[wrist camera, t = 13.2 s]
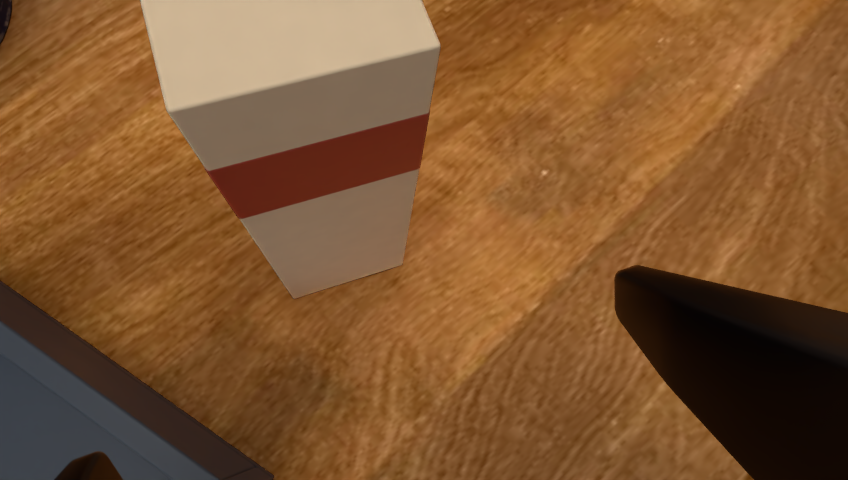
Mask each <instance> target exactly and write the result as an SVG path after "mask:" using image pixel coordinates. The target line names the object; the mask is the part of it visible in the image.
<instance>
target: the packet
mask: <svg viewBox="0 0 848 480" xmlns="http://www.w3.org/2000/svg"><path fill="white" fill-rule="evenodd" d="M140 2H141V7H142V11H143V15H144V19H145V23H146V27H147V31H148V36H149V40H150V44H151V48H152V52H153V56H154V61H155V65H156V69H157V73H158V77H159V81H160V85H161V90H162V94H163V98H164V102H165V106H166V110H167V112H168V114H169V115H170V116H171V118H172V119H173V121H174V122H175V124H176V125H177V127H178V128H179V130H180V131H181V133H182V134H183V136H184V137H185V139H186V140H187V142H188V143H189V145H190V146H191V148H192V149H193V151H194V152H195V154H196V155H197V157H198V158H199V160H200V161H201V162H202V164H203V165H204V167H205V170H206V171H207V173H208V174H209V176H210V177H211V179H212V180H213V182H214V183H215V185H216V186H217V188H218V189H219V191H220V192H221V194H222V195H223V197H224V198H225V200H226V201H227V202H228V204H229V205H230V207H231V208H232V210H233V211H234V213H235V214H236V216H237V217H238V218H239V219H240V220H241V222H242V223H243V225H244V226H245V228H246V229H247V231H248V232H249V234H250V235H251V237H252V238H253V240H254V241H255V243H256V244H257V246H258V247H259V249H260V250H261V252H262V253H263V254H264V256H265V257H266V259H267V260H268V262H269V263H270V265H271V266H272V268H273V269H274V271H275V272H276V274H277V275H278V277H279V278H280V280H281V281H282V283H283V284H284V286H285V287H286V289H287V290H288V292H289V293H290V295H291V296H292V298H293V299H295V298H299V297H302V296H305V295H308V294H311V293H314V292H318V291H321V290H324V289H327V288H330V287H333V286H337V285H340V284H343V283H346V282H349V281H353V280H356V279H359V278H362V277H365V276H368V275H372V274H375V273H378V272H381V271H384V270H387V269H391V268H394V267H397V266H400V265H402V264H403V259H404V253H405V247H406V241H407V236H408V230H409V224H410V219H411V213H412V207H413V201H414V196H415V190H416V184H417V179H418V173H419V168H420V165H421V159H422V154H423V148H424V142H425V137H426V131H427V125H428V120H429V114H430V104H431V98H432V93H433V87H434V81H435V76H436V70H437V64H438V58H439V53H440V46H441V45H440V42H439V40H438V38H437V35H436V33H435V31H434V28H433V26H432V23H431V21H430V19H429V16H428V14H427V12H426V9H425V7H424V4H423V2H422V0H140Z"/></svg>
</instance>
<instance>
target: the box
mask: <svg viewBox="0 0 848 480" xmlns="http://www.w3.org/2000/svg"><path fill="white" fill-rule="evenodd" d="M96 451H101V452H103V453H105V454H106V455H107V456H108V457H109V459H110V460H111V462H112V463H113V465H114V466H115V468H116V469H117V471H118V472H119V474H120V475H121V477H122V478H123V480H273V478H274V476H273V475H272V474H271V473H270V472H268V471H267V470H265V469H264V468H263V467H261V466H260V465H258V464H257V463H256V462H254V461H253V460H251V459H250V458H248V457H247V456H246V455H244V454H243V453H241V452H240V451H239V450H237V449H236V448H234V447H233V446H232V445H230V444H229V443H227V442H226V441H225V440H223V439H222V438H220V437H219V436H218V435H216V434H215V433H213V432H212V431H211V430H209V429H208V428H206V427H205V426H204V425H202V424H201V423H199V422H198V421H197V420H195V419H194V418H192V417H191V416H190V415H188V414H187V413H185V412H184V411H183V410H181V409H180V408H178V407H177V406H176V405H174V404H173V403H171V402H170V401H169V400H167V399H166V398H164V397H163V396H161V395H160V394H159V393H157V392H156V391H154V390H153V389H152V388H150V387H149V386H147V385H146V384H145V383H143V382H142V381H140V380H139V379H138V378H136V377H135V376H133V375H132V374H131V373H129V372H128V371H126V370H125V369H124V368H122V367H121V366H119V365H118V364H117V363H115V362H114V361H112V360H111V359H110V358H108V357H107V356H105V355H104V354H103V353H101V352H100V351H98V350H97V349H96V348H94V347H93V346H91V345H90V344H89V343H87V342H86V341H84V340H83V339H81V338H80V337H79V336H77V335H76V334H74V333H73V332H72V331H70V330H69V329H67V328H66V327H65V326H63V325H62V324H60V323H59V322H58V321H56V320H55V319H53V318H52V317H51V316H49V315H48V314H46V313H45V312H44V311H42V310H41V309H39V308H38V307H37V306H35V305H34V304H32V303H31V302H30V301H28V300H27V299H25V298H24V297H23V296H21V295H20V294H18V293H17V292H16V291H14V290H13V289H11V288H10V287H9V286H7V285H6V284H4V283H3V282H2V281H0V480H54V479H55V478H56V477H57V476H58V475H59V473H60V472H61V471H62V470H63V469H64V468H65V467H66V466H67V465H68V464H69V463H70V462H71V461H72V460H74V459H76V458H79V457H82V456H84V455H87V454H90V453H93V452H96Z"/></svg>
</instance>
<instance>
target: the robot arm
mask: <svg viewBox="0 0 848 480" xmlns="http://www.w3.org/2000/svg"><path fill="white" fill-rule="evenodd" d="M615 311H616V314H617V317H618V319H619V320H620V322H621V323H622V325H623V326H624V327H625V329H626V330H627V331H628V333H629V334H630V335H631V337H632V338H633V340H634V341H635V342H636V344H637V345H638V346H639V348H640V349H641V350H642V352H643V353H644V354H645V356H646V357H647V358H648V360H649V361H650V363H651V364H652V365H653V367H654V368H655V369H656V371H657V372H658V373H659V375H660V376H661V377H662V378H663V380H664V381H665V382H666V384H667V385H668V386H669V387H670V388H671V389H672V390H673V392H674V393H675V394H676V395H677V396H678V397H679V398H680V399H681V400H682V402H683V403H684V404H685V405H686V406H687V407H688V408H689V409H690V410H691V411H692V412H693V414H694V415H695V416H696V417H697V418H698V419H699V420H700V421H701V422H702V423H703V424H704V426H705V427H706V428H707V429H708V430H709V431H710V432H711V433H712V434H713V435H714V437H715V438H716V439H717V440H718V441H719V442H720V443H721V444H722V445H723V446H724V447H725V449H726V450H727V451H728V452H729V453H730V454H731V455H732V456H733V457H734V458H735V460H736V461H737V462H738V463H739V464H740V465H741V466H742V467H743V468H744V469H745V470H746V472H747V473H748V474H749V475H750V476H751V477H752V478H753V479H754V480H848V313H845V312H841V311H836V310H832V309H828V308H823V307H819V306H814V305H810V304H806V303H801V302H797V301H793V300H788V299H784V298H779V297H775V296H771V295H766V294H762V293H758V292H753V291H749V290H744V289H740V288H736V287H731V286H727V285H723V284H718V283H714V282H710V281H705V280H701V279H696V278H692V277H688V276H683V275H679V274H675V273H670V272H666V271H661V270H657V269H653V268H648V267H644V266H639V265H635V266H631V267H629V268H626V269H623V270H620V271H618V272H617V273H616V275H615ZM54 480H123V478H122V477H121V475H120V474H119V472H118V471H117V469H116V468H115V466H114V465H113V463H112V462H111V460H110V459H109V457H108V456H107V455H106V454H105V453H103V452H101V451H96V452H93V453H90V454H87V455H84V456H82V457H79V458H76V459H74V460H72V461H71V462H70V463H69V464H68V465H67V466H66V467H65V468H64V469H63V470H62V471H61V472H60V473H59V475H58V476H57V477H56V478H55V479H54Z"/></svg>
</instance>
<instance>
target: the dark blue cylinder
mask: <svg viewBox="0 0 848 480" xmlns="http://www.w3.org/2000/svg"><path fill="white" fill-rule="evenodd" d="M10 14H11V0H0V43H1V41H2V39H3V37H4V34H5V32H6V29H7V27H8V23H9V19H10Z"/></svg>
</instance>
